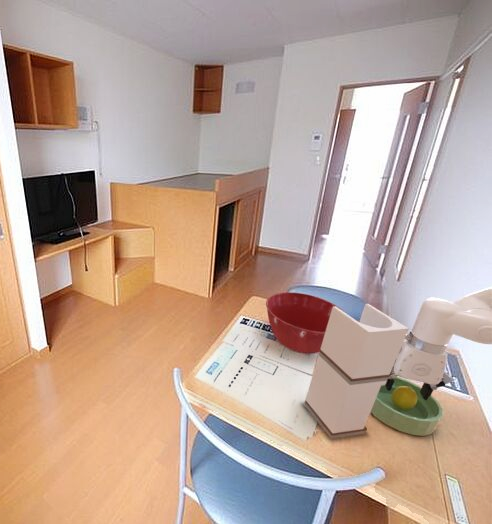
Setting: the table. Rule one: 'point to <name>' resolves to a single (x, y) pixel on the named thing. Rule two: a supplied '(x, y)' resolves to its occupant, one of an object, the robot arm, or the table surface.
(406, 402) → the lemon
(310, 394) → the tall white box
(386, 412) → the green bowl
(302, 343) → the mixing bowl
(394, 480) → the table surface
